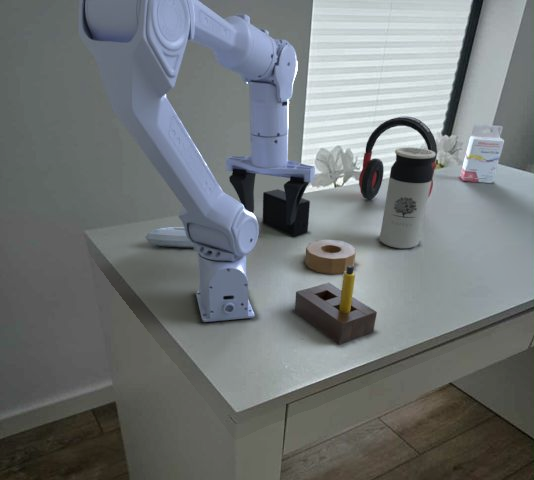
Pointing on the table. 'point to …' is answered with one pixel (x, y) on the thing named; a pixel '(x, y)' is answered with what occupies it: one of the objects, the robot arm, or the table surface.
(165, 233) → the spaceship
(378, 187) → the headphones
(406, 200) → the travel mug
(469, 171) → the ink cartridge box
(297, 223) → the digital camera
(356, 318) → the pencil stand
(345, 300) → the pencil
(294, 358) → the table surface
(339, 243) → the tape roll
